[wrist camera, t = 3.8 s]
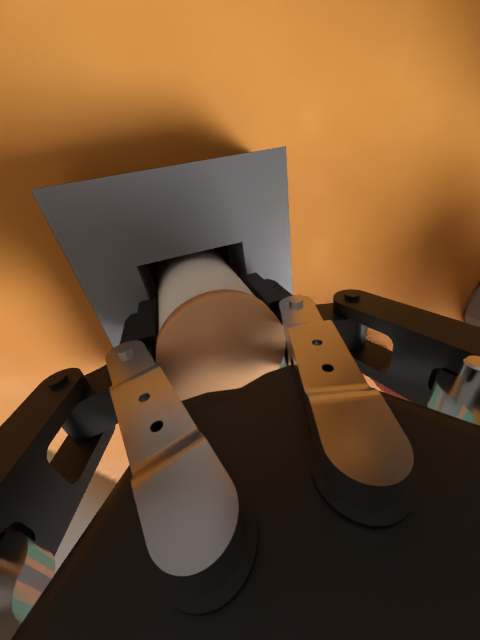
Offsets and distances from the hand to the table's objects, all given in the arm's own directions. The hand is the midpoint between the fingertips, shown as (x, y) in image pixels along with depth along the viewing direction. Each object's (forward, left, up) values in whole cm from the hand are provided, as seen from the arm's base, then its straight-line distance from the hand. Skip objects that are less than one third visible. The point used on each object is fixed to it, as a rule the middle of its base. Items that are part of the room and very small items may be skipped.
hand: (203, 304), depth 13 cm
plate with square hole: (0, 0, -4) cm, 4 cm away
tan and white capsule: (0, 0, -4) cm, 4 cm away
